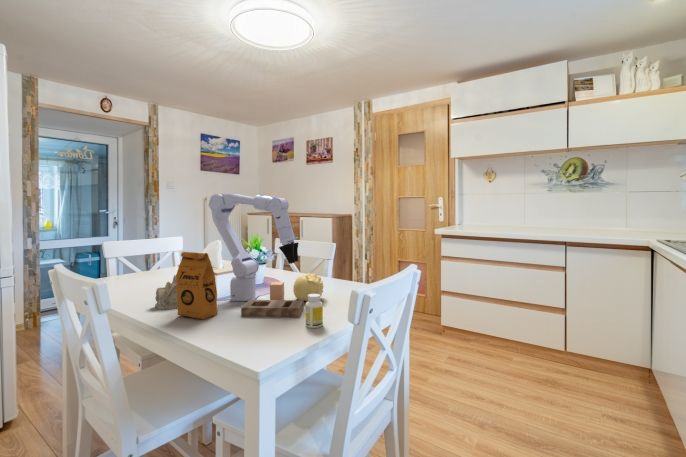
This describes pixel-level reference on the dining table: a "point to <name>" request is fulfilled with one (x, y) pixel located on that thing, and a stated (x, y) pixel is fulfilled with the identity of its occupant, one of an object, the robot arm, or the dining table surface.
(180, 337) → the dining table surface
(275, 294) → the square peg
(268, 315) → the socket board
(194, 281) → the coffee package
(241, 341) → the dining table surface
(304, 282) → the sculpture
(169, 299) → the ceramic cottage
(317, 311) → the supplement bottle
